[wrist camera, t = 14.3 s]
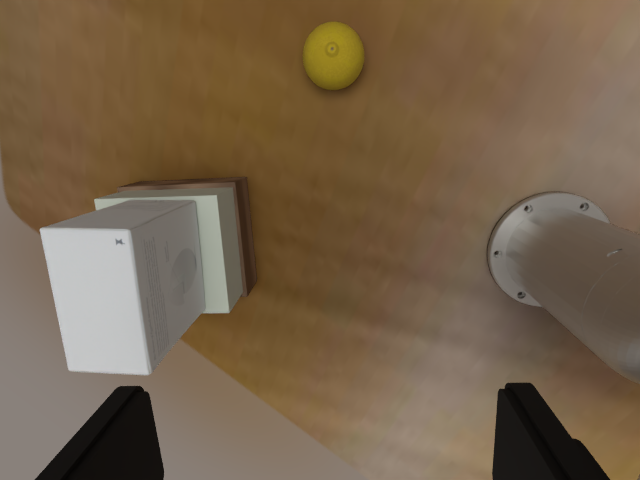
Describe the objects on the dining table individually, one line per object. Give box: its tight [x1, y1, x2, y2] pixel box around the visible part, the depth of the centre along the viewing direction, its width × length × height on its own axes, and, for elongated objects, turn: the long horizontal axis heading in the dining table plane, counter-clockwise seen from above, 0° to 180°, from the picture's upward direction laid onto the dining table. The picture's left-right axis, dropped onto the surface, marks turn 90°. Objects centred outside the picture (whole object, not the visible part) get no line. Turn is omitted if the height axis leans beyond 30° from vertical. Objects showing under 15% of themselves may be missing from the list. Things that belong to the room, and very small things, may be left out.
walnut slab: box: [117, 177, 257, 297], centre depth 44 cm, size 12×12×5 cm
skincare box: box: [40, 200, 205, 375], centre depth 31 cm, size 10×6×10 cm, turn 1°
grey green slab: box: [94, 187, 243, 313], centre depth 39 cm, size 11×11×5 cm
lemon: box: [303, 22, 364, 90], centre depth 36 cm, size 6×6×8 cm
